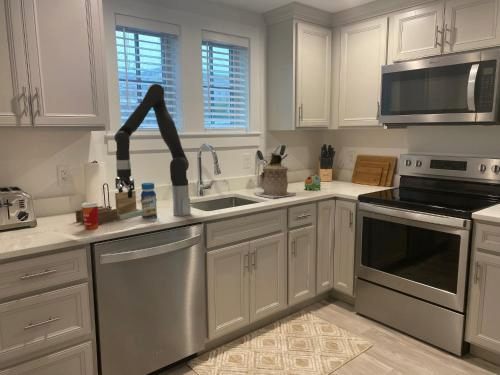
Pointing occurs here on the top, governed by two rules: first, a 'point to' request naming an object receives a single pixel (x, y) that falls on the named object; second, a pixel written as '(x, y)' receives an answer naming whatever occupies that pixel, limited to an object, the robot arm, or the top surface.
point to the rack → (99, 216)
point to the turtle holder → (312, 182)
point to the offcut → (102, 209)
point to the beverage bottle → (148, 201)
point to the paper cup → (90, 215)
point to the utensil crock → (274, 179)
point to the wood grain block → (125, 203)
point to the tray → (130, 214)
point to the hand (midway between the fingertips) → (125, 197)
